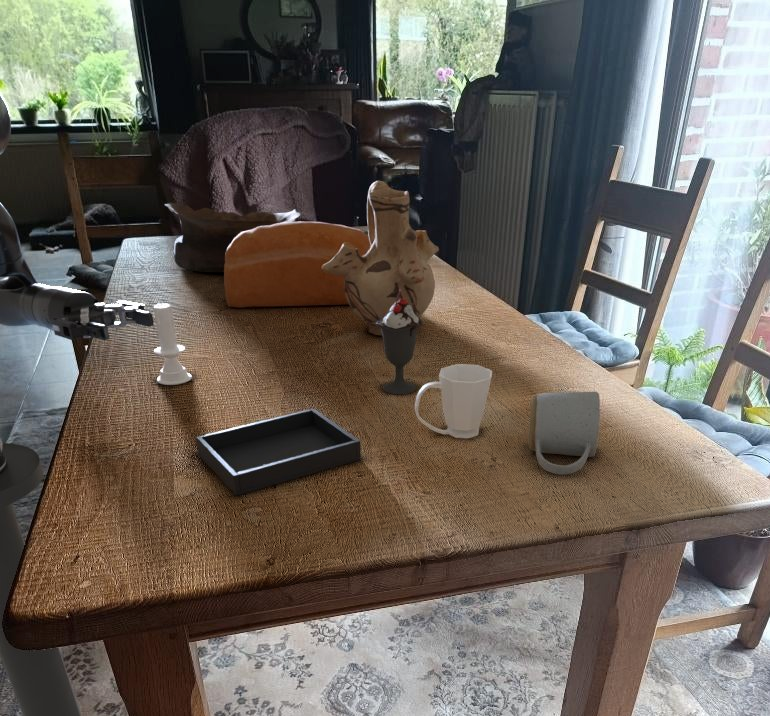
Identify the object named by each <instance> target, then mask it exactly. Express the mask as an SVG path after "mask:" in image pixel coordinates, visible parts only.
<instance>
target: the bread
mask: <svg viewBox="0 0 770 716" xmlns="http://www.w3.org/2000/svg"><path fill="white" fill-rule="evenodd" d="M364 232H365V231H363V230H362V229H360V228H354V227H350V226H346V225H343V224H336V223H329V222H324V221H323V222H322V221H293V222H287V223H276V224H273V225H268V226H259V227H257V228H254V229H251V230H247V231H243V232H241V233H240V234H239V235H238V236H236V237H235V238H234V239H233V241H232V242H231V244H230V245H229V246H228V248H227V250H226V253H225V265H224V272H223V280H224V281H223V282H224V292H225V301H226V304H227V306H228V307H230V308H238V309H239V308H266V307H267V308H269V307H305V306H306V307H307V306H339V305H341V306H343V305H344V306H345V305H349V303H348V301H347V298H346V295H345V291H344V277H342V276H337V275H333V274H329V273H325V272H324V271H323V270H322V266H323V265H324V264H325V263H328V262H329V261H330V260H332V259H333V258H334V256H335V255H336V254H337V253H338V252H339V250H340V249H341V247H342V245H343V243H344V242H348V243H350V244H351V245H352V246H353V247H354V248H357V250H358V253H359V255H361V256H364V255H365V254H366V253H367V252H368V250H369V249H370V247H371V245H370V241H369V237H368V236H367V234H365V233H364Z"/></svg>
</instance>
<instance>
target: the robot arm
mask: <svg viewBox="0 0 770 716" xmlns="http://www.w3.org/2000/svg"><path fill="white" fill-rule="evenodd" d="M11 133H12V122H11V114H10V110H9V106H8V104H7V102H6V100H5V98H4V97H3V95H2V93H0V156H1V155H2V154H3V153H4V152H5V150H6V149H7V147H8V145H9V142H10V139H11ZM0 278H1V279H0V325H1V326H6V327H27V326H38V327H42V328H46V329H48V330H50V331H53V333H54V335H55V336H57V337H61V338H64V339H67V340H70V341H75V342H77V341H79V340H80V339H91V338H94V339H98V340H101V341H107V340H110V333H109V328H124V327H126V326H127V325H128V324H129V325H131V324H132V325H133V324H134V325H138V326H144V327H148V328H149V327H153V326H154V322H155V321H154V317H153V313H151V312H150V311H146V306H145V303H138V302H133V301H127V300H122V299H120V300H117V301H116V303H115V304H114V303H113V304H112V303H111V304H106V303H105V302H100V301H99V300H98V299H97V298H96V297H95V296H94V295H93V294H92V293H89V292H86V291H81V290H77V289H72V288H68V287H62V286H50V285H46V284H41V283H39V282H38V280H37V279H36V277H35V275H34V274H33V272H32V270H31V268H30V267H29V264H28V263H27V261H26V258H25V256H24V253H23V249H22V245H21V241H20V237H19V233H18V230H17V226H16V224H15V221H14V219H13V218H12V215H10V213H9V212H8V209H6V208H5V206H4V205H3V204H2V203H1V202H0ZM116 315H118V317H119V321H117V317H116ZM2 443H3V440H2V437H1V436H0V474H1V473H2V472H3V471H4V470H5V469H6V467H7V460H6V457H5V456H4V454H3V449H2V445H3V444H2Z"/></svg>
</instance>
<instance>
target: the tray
mask: <svg viewBox="0 0 770 716" xmlns="http://www.w3.org/2000/svg"><path fill="white" fill-rule="evenodd" d="M195 442H196V447H197V448H196V449H197V453H198V456H199V457H200V459H202V461H203V462H204V463H205V464H206V465H207V466H208V467H209V468H210V469H211V470H212V471H213V472H214V474H216V476H217V477H219V479H220V480H221V481H222V482H223V484H225V485H226V486H227V487H228V489H229V490H230V491H231V492H232V493H233V494H234V495H235V496H236V497H237V496H240V495H243V494H247V493H251V492H254V491H258V490H262V489H265V488H268V487H272V486H275V485H279V484H282V483H284V482H285V483H286V482H289V481H291V480H295V479H299V478H302V477H305V476H309V475H312V474H315V473H319V472H322V471H326V470H330V469H333V468H336V467H340V466H344V465H346V464H351V463H353V462H357V461H360V460H362V451H361V440H360V439H359V438H357V437H355V436H354V435H352V434H351V433H350V432H348V431H347V430H345V429H344V428H342V427H341V426H340V425H338V424H337V423H335V422H334V421H333V420H331V419H330V418H328V417H327V416H325V415H324V414H323V413H321V412H320V411H318V410H317V409H315V408H308V409H306V410H301V411H297V412H292V413H288V414H284V415H280V416H276V417H272V418H268V419H264V420H260V421H255V422H252V423H248V424H243V425H240V426H235V427H231V428H227V429H224V430H219V431H214V432H211V433H206V434H202V435H199V436H196V437H195Z"/></svg>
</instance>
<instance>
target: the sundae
mask: <svg viewBox="0 0 770 716" xmlns="http://www.w3.org/2000/svg"><path fill="white" fill-rule="evenodd" d="M398 293H399V294H398V296H400V293H401V290H400V291H399V292H398ZM398 296H397V299H396V303H394V304H393V305H392V307H391V308H390V310H389V313H388V314H387V315H386V316H385V317H382V318H381V319H379V320H378V321H377V322H376V324H377V325H379V326H380V328H381V331H382V336H381V337H382V342H383V350H384V354H385V359H386V360H387V361H388V362H389V363H390V364H391V365H393V366H394V368H395V375H394V379H393V381H391V382H387V383H385V384H384V385H383V387H382V389H383V391H384V392H385V393H388V394H391V395H407V394H411V393H413V392H415V390H416V389H417V387H416V385H415V384H413V383H412V382H409V381H408V382H407V381H406V380H405V375H404V368H405V367H406V366H407V365H409V363H410V362H411V361H412V360H413V358H414V354H415V348H416V342H417V341H416V340H417V335H418V331H419V328H421V327H422V326H423V325H424V322H423V320H422V318H421V317H417V315H415V314H414V311H415V309H414V308H412V307H411V306H410V305H409V304H408V303H407V301H406V299H402V298H401V296H400V298H401V299H400V300H399V302H397V300H398Z"/></svg>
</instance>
